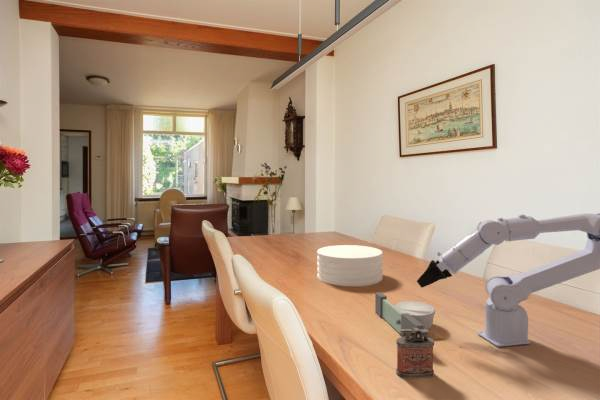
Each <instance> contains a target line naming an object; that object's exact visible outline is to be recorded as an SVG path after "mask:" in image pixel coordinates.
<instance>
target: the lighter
mask: <svg viewBox="0 0 600 400" xmlns="http://www.w3.org/2000/svg"><path fill="white" fill-rule="evenodd" d="M399 336H400V337H399V338H397V339H396V340H395V341H396V354H397V355H396V361H397V362H396V368H395V370H396V371H395V372H396V376H398V377H400V378H402V377H404V378H405V377H406V378H408V379H423V378H424V379H425V378H431V377H433V376H434V375H435V374H434V373H435V369H434V345H435V339H433V338H431V337H429V330H426V329H421V330H419V329H418V328H417V327H415V328H413V330H411V329H401V330H400V333H399ZM423 336H424V337H423ZM401 337H404V338H401Z"/></svg>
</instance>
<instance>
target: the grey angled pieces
mask: <svg viewBox="0 0 600 400" xmlns="http://www.w3.org/2000/svg"><path fill="white" fill-rule="evenodd" d="M374 297H375V302H374V303H375V307H374V308H375V309H374V310H375V315H376V316H378V317H379V318H381V319H384V318H383V317H382V299H386V300H387V299H388V298H387V297H388V296H387V295H386V294H384V293H383V292H375V296H374ZM387 301H388V300H387ZM415 327H417V328H418V329H419V330H421V329H424V325H423V324H421V323H420V322H419V321H418V320H416V319H415V318H414V317H412V316H411V315H410V314H409V313H405V314H401V329H411V330H413V328H415ZM423 337H424V336H423ZM400 338H404V337H401V336H400Z"/></svg>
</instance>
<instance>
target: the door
mask: <svg viewBox="0 0 600 400" xmlns="http://www.w3.org/2000/svg"><path fill="white" fill-rule="evenodd" d="M401 314H403V313H402V312H401V311H400V310H398V309H397V308H396V307H395V305H393V304H392V303H391V302H390V301H389V300H386V299H382V317H383V318H382V319H384V320H385V321H386V322H387V323H388V324H389V325H390V326H391V327H393V329H394V330H395V331H396V332H398V333H399V334H400V330H401Z"/></svg>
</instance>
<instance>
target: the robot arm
mask: <svg viewBox="0 0 600 400" xmlns="http://www.w3.org/2000/svg"><path fill="white" fill-rule="evenodd" d="M571 231H579V232H583V233H586V238H587V240H586V244H585V246H584V247H585V248H584V249H583V250H580V251H578V252H574V253H571V254H570V255H569V254H568V255H566V256H564V257H560V258H558V259H555V260H553V261H550V262H548V263H545V264H542V265H540V266H537V267H534V268H531V269H530V270H529V269H528V270H526V271H523V272H521V273H515V274H514V273H512V274H508V275H505V276H499V275H495V276H492V277H490V278H489V279H488V280H487V281H486V283H485V292H486V293H487V294H488V296H489V297H487V300H486V301H485V315H484V316H485V318H484V319H485V320H484V323H485V325H484V326H485V327H484V328H485V329H484V330H483V331H478V332H477V335H479V336H480V337H481V338H483V339H485V340H487V341H488V342H489V343H491V344H493V345H495V346H496V347H499V348H500V347H507V346H508V347H511V346H519V345H527V344H528V345H529V344H531V341H530V340H528V338H529V317H528V313H527V311H526V309H525V308H524V307H523V306H522V305H519V304H520V303H521V302H524V301H527V300H528V298H529V297H530V296H531V295H532V294H533V293H535V292H539V291H541V290H544V289H547V288H550V287H553V286H555V285H559V284H561V283H563V282H568V281H570V280H572V279H576V278H579V277H581V276H584V275H587V274H589V273H592V272H595V271H598V270H600V212H599V213H581V214H580V213H579V214H572V215H571V214H570V215H565V216H558V217H551V218H544V219H538V220H537V219H535V218H534V217H532V216H530V215H529V216H527V215H525V214H518V217H511V218H505V219H504V218H503V217H498V218H497V220H496V221H495V220H492V219H486V220H482V221H480V222H479V223H478V225H477V227H476V229H474V230H473V231H472V232H470V234H467V235H466V236H464V237H463V238H461V239H460V240H459V241H458V242H456V243H455V244H454V245H453V246H451V247H450V248H449V249H447V250H446V251H445V252H444V253H442V254H441V252H440V251H437V252H436V254H437V256H438V258H439V260H436V261H435V260H434V259H431V260H430V262H429V265H428V266H427V268H426V270H425V271H424V272H423V273H422V274H421V275H420V276H419V278H418V279H416V282H417V284H418V285H419V286H420V288H422V289H423V288H425V287H428V286H430V285H432V284H434V283H436V282H438V281H439V280H441V281H442V280H446V279H448V278H451V277H452V276H453V275H456V274H457V272H459V271H460V270H461V269H462V268H464V267H465V266H467V265H468V264H470V263H471V262H472V261H474V260H475V259H476V258H477V257H479V256H480V255H482V254H483V253H485V251H486V250H488V249H489V248H490V247H492V245H494V246H495V245H496V246H497V245H501V244H502V243H503V242H504V241H505V242H512V241H513V242H515V241H524V240H533V239H534V240H535V239H536V238H537V237H538V236H539V235H541V234H543V233H558V232H559V233H560V232H571Z"/></svg>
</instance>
